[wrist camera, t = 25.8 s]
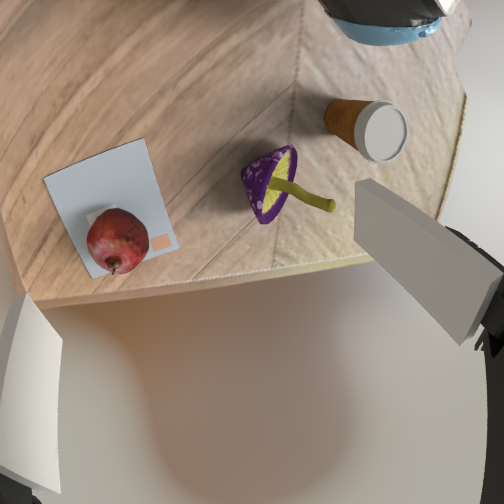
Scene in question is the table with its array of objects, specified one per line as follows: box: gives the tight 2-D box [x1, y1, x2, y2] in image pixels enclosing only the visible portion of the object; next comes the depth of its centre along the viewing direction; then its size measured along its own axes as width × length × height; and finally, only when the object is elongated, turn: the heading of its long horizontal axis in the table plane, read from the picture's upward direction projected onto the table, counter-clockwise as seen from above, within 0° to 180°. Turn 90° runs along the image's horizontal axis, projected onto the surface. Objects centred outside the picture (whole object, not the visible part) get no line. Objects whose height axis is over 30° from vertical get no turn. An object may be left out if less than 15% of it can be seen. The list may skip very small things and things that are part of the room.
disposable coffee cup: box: [325, 99, 409, 164], centre depth 42 cm, size 10×10×12 cm
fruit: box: [86, 208, 149, 275], centre depth 40 cm, size 9×10×10 cm
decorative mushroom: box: [241, 145, 336, 224], centre depth 44 cm, size 12×12×15 cm
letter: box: [43, 138, 179, 279], centre depth 43 cm, size 19×16×1 cm
